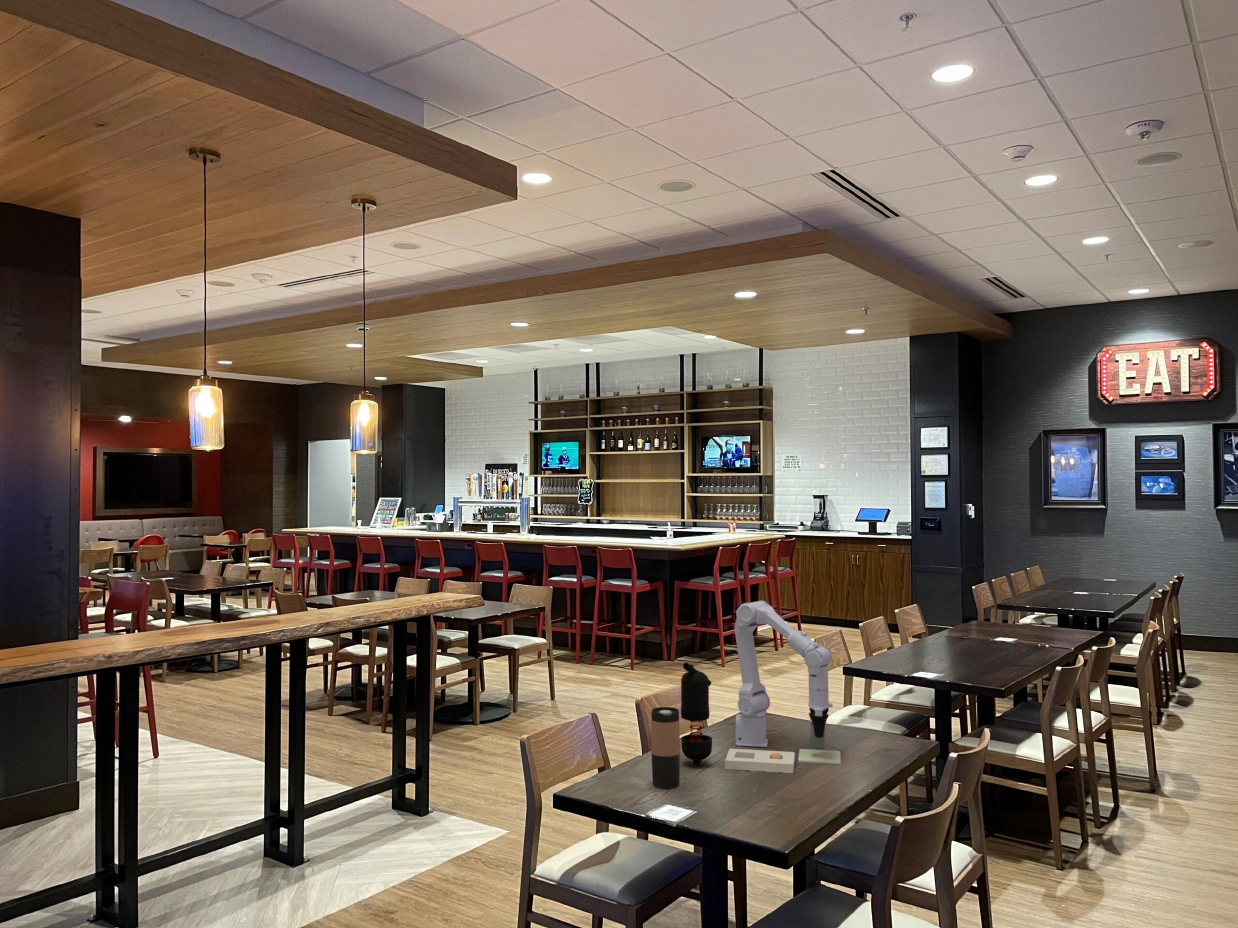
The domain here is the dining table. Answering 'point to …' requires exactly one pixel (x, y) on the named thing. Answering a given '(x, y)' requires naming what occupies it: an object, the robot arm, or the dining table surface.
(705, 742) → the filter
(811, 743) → the cylinder
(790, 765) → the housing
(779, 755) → the plunger
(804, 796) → the dining table surface
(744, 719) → the robot arm
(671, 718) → the travel mug
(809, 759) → the mat
